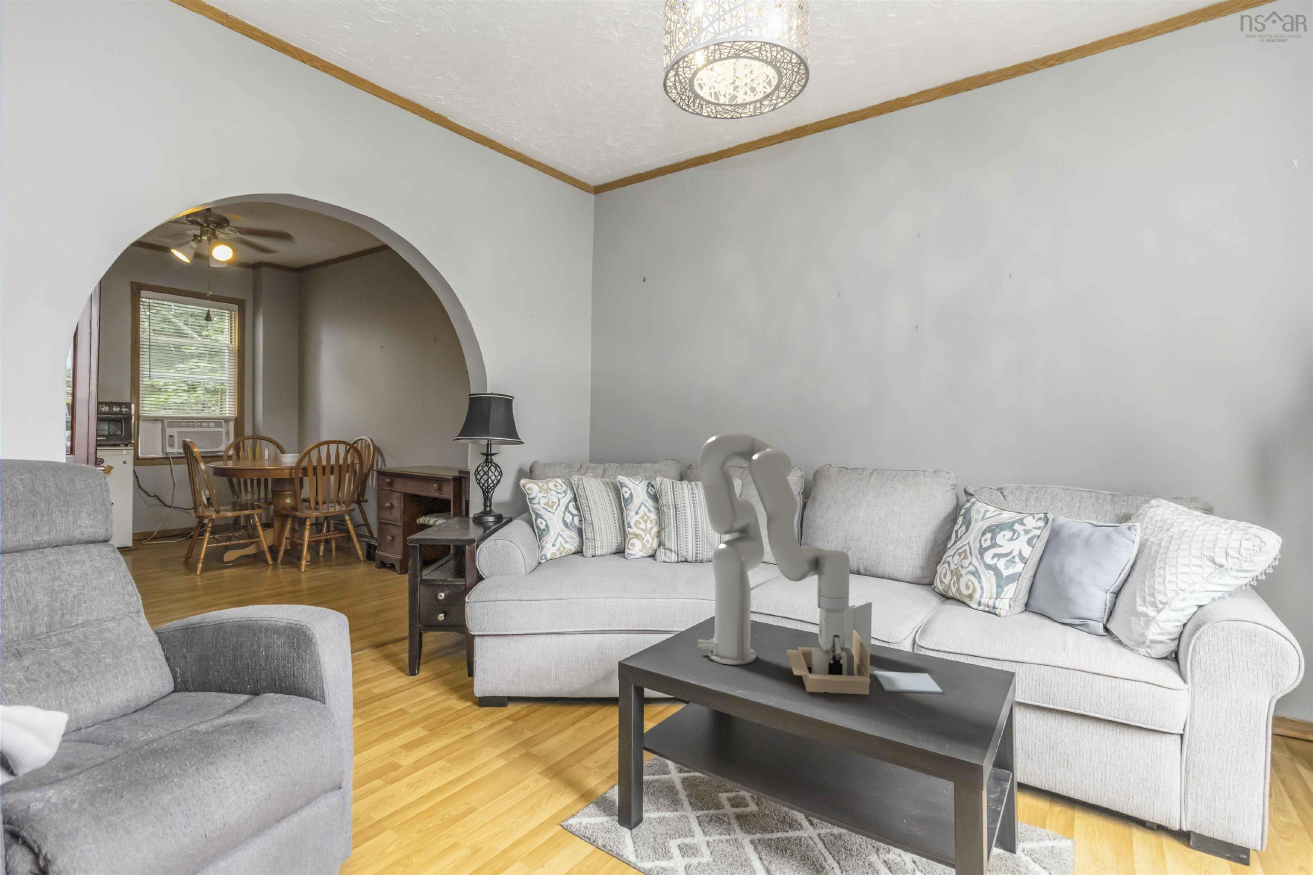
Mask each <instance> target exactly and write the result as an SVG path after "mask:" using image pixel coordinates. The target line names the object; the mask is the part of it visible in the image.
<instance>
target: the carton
mask: <svg viewBox="0 0 1313 875" xmlns="http://www.w3.org/2000/svg"><path fill="white" fill-rule="evenodd" d="M851 651H852V649H851ZM852 653H853V654H854V676H846V675H822V674H812V673H810V672H809V669H808V668H807V667H812V647H807V646H804V647H803V646H802V647H801V646H798V649H786V654H787V656H788V659H789V662H790V667H791V669H792V672H793V675H794V676H801V675H802V676H801V678H803V679H802V681H804V682H803V685H804V686H805V691H806V692H807V693H809V692H810V693H824V692H826V693H827V692H828V693H829V694H850V695H851V694H852V695H870V683H871V678H870V667H871V666H870V663H871V661H870V657H871V654H870V651H869V650H868V649H867V647H866V646H865V644H864V643H863V641H862V640H861V638H860V637H859V635H858V634H857V632H856V631H855V630H853V651H852ZM826 693H825V694H826Z"/></svg>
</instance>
